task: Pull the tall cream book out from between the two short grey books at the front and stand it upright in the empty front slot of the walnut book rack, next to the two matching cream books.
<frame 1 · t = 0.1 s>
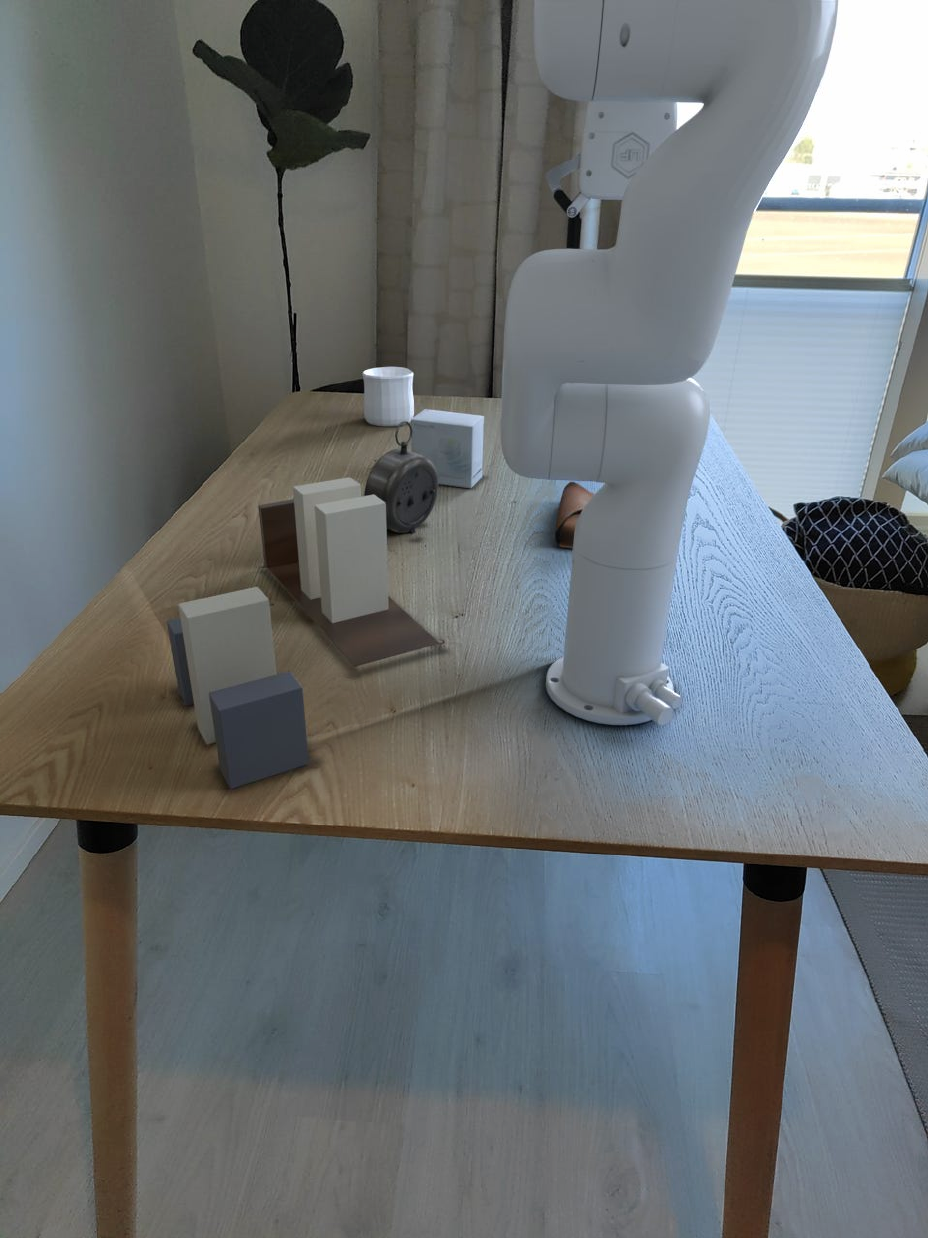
hand: (617, 256, 97), 37 cm above the table, tool pointing down, fingers open, 9 cm apart
cup: (389, 421, 171), on the table
cream book: (239, 725, 79), on the table
cream book a: (355, 610, 98), resting on book rack
sunglasses case: (585, 527, 124), on the table
cream book b: (333, 588, 103), resting on book rack
book rack: (345, 607, 100), on the table
grey book a: (264, 767, 74), on the table
grey book b: (218, 689, 85), on the table
alarm clock: (404, 537, 120), on the table
cosmetics box: (447, 480, 141), on the table
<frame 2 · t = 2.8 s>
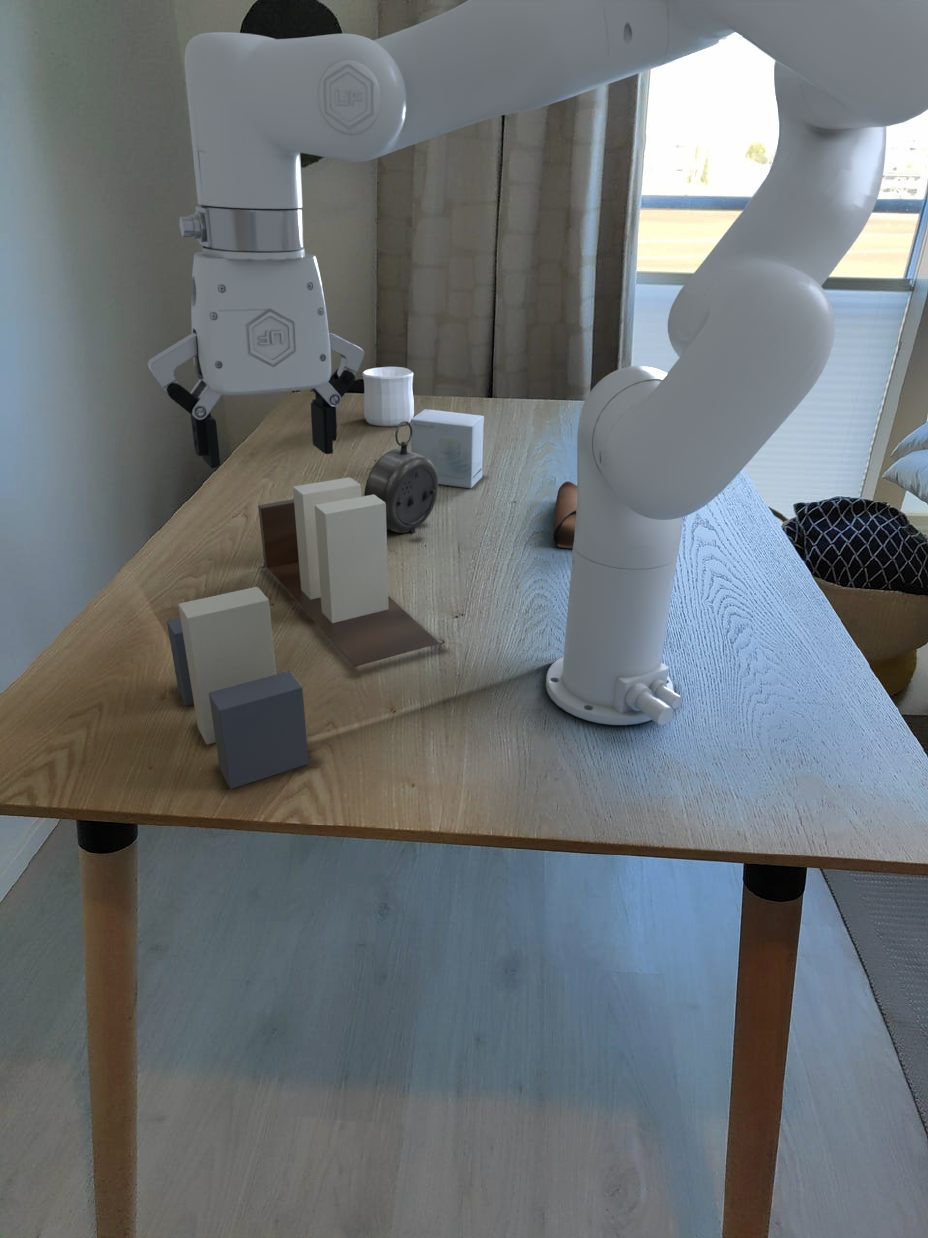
hand: (268, 456, 72), 24 cm above the table, tool pointing down, fingers open, 9 cm apart
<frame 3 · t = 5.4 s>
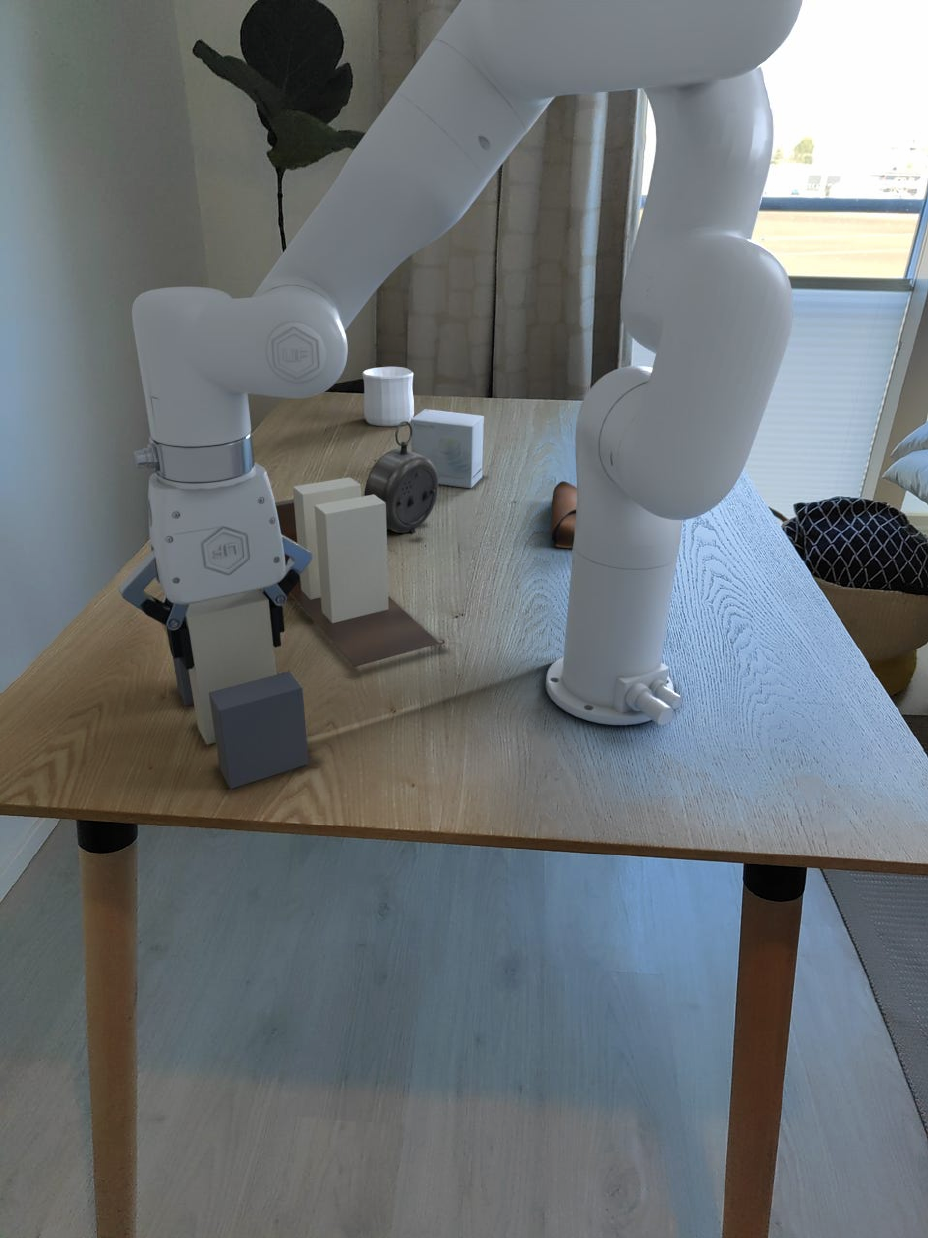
hand: (229, 649, 76), 8 cm above the table, tool pointing down, fingers closed on cream book, 7 cm apart
cream book: (239, 725, 79), on the table, touching gripper
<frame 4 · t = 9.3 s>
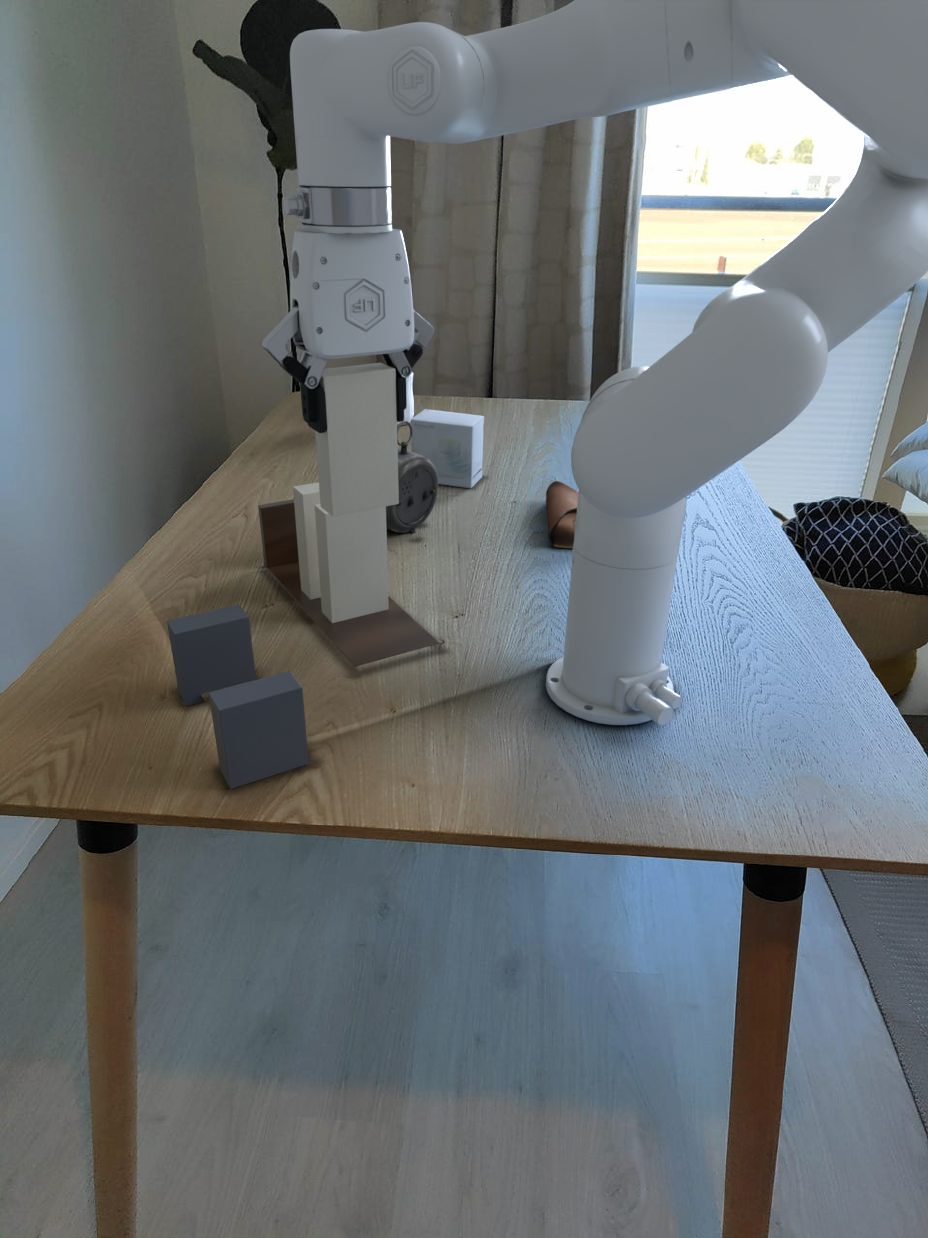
hand: (356, 422, 79), 25 cm above the table, tool pointing down, fingers closed on cream book, 7 cm apart
cream book: (359, 505, 83), point 17 cm above the table, touching gripper
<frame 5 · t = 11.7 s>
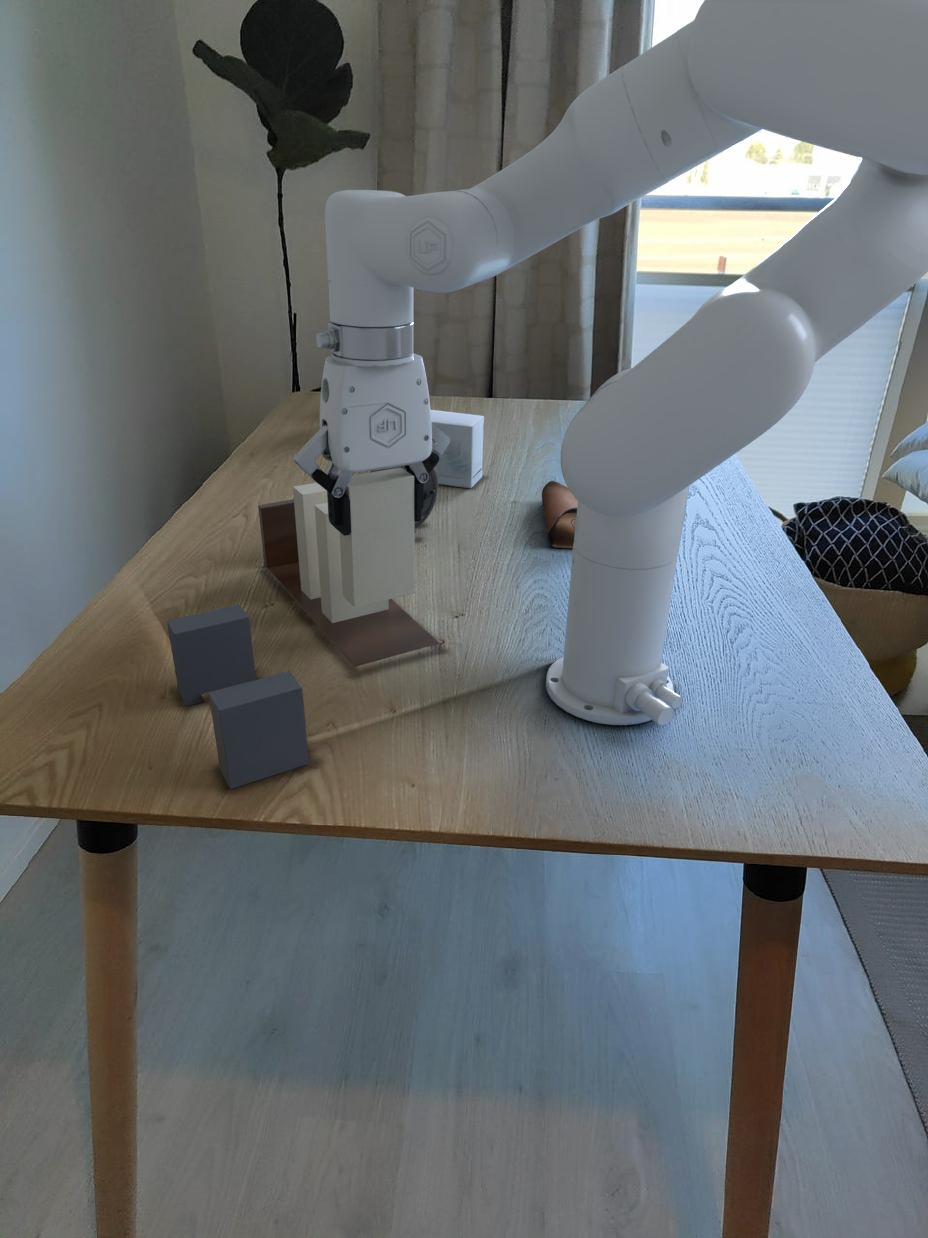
hand: (377, 522, 86), 14 cm above the table, tool pointing down, fingers closed on cream book, 7 cm apart
cream book: (379, 594, 90), point 6 cm above the table, touching gripper
when the fingers open (9 cm above the table, at t = 13.5 s): cream book stays where it is, resting on book rack.
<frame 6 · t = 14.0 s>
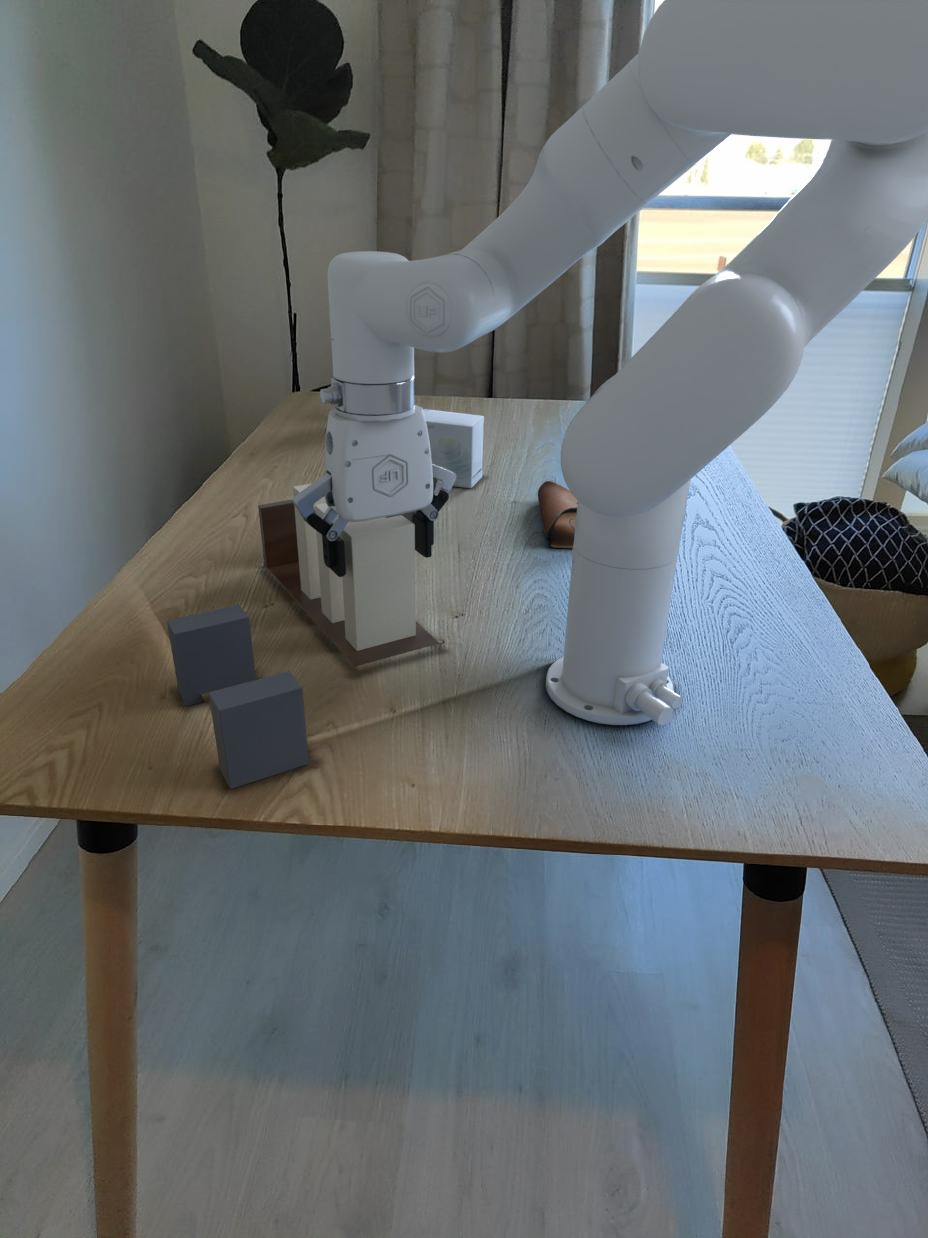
hand: (380, 562, 88), 10 cm above the table, tool pointing down, fingers open, 9 cm apart
cream book: (380, 637, 92), point 1 cm above the table, touching book rack
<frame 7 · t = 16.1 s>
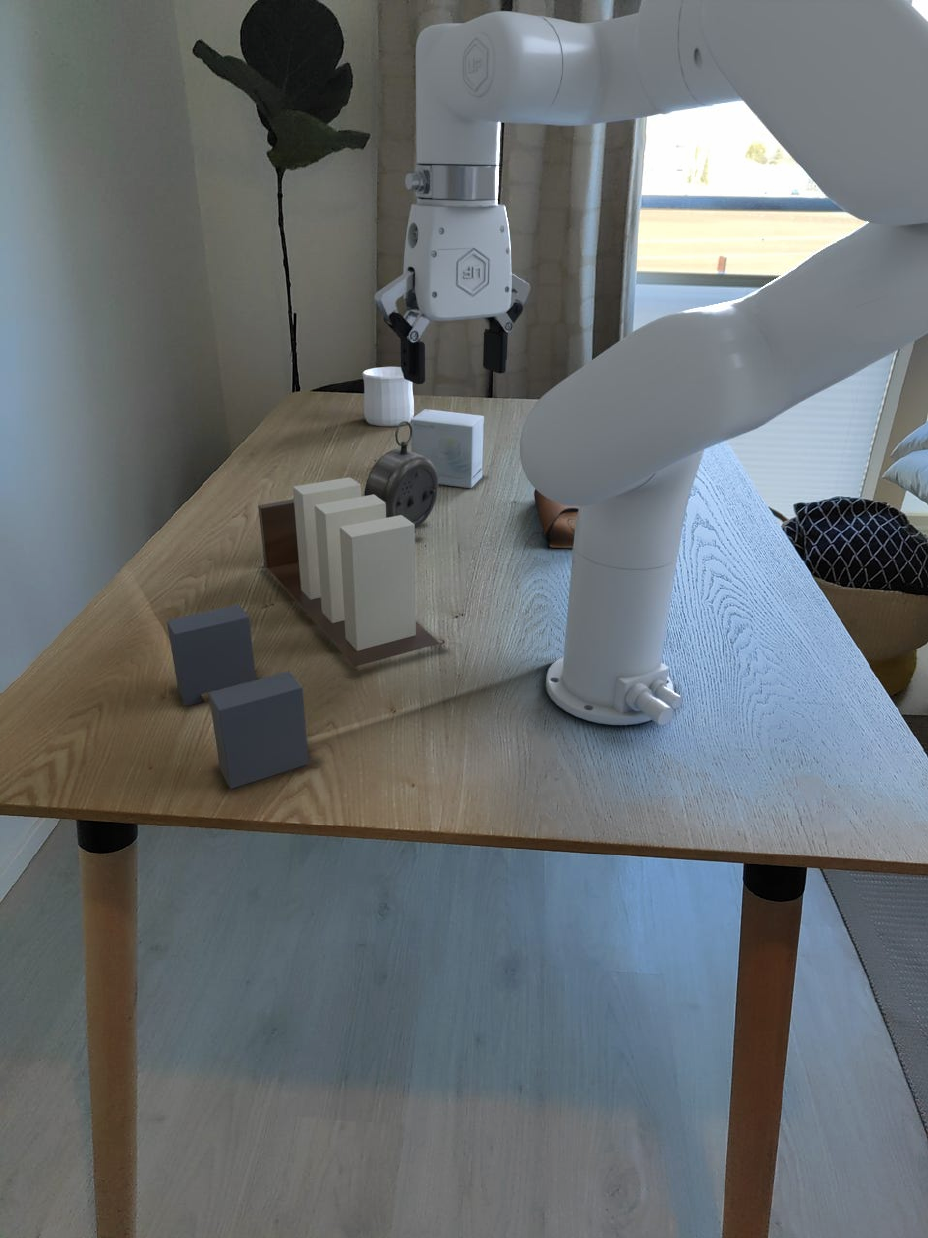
hand: (455, 375, 87), 27 cm above the table, tool pointing down, fingers open, 9 cm apart
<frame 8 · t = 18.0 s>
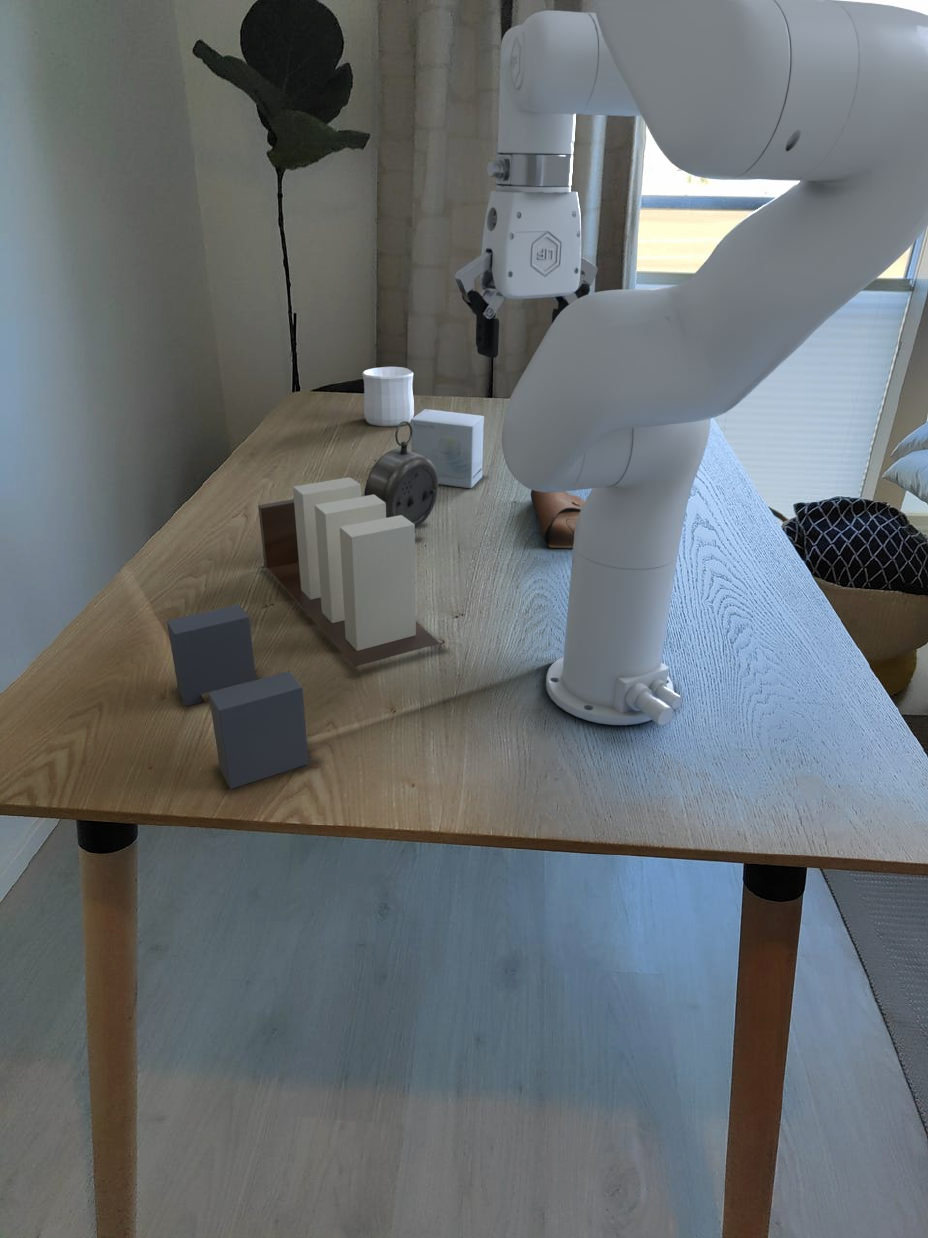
hand: (524, 351, 93), 28 cm above the table, tool pointing down, fingers open, 9 cm apart
at the end: cream book 0.1 cm from the target spot on the book rack, point 1.0 cm above the book rack's base; cream book tilted 0°; cream book 6.9 cm from the cream book a (horizontally) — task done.
